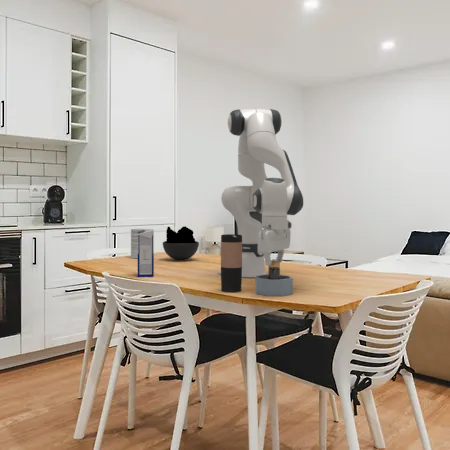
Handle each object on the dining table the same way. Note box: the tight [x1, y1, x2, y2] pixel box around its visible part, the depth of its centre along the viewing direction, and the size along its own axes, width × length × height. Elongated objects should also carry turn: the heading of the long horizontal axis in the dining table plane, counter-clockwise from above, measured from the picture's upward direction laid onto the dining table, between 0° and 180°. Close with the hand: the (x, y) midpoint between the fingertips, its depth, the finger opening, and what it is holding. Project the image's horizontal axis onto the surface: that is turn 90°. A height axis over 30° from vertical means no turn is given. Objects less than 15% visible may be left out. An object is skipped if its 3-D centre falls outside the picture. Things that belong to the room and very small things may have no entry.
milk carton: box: [137, 229, 155, 278], centre depth 212 cm, size 7×7×20 cm
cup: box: [254, 274, 294, 297], centre depth 173 cm, size 13×13×6 cm
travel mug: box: [220, 233, 243, 293], centre depth 176 cm, size 8×8×20 cm
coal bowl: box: [162, 225, 200, 261], centre depth 272 cm, size 20×20×19 cm
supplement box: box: [130, 228, 154, 260], centre depth 283 cm, size 10×9×17 cm
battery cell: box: [267, 258, 281, 279], centre depth 173 cm, size 4×4×11 cm
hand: (274, 263), depth 173 cm, fingers open, 8 cm apart
